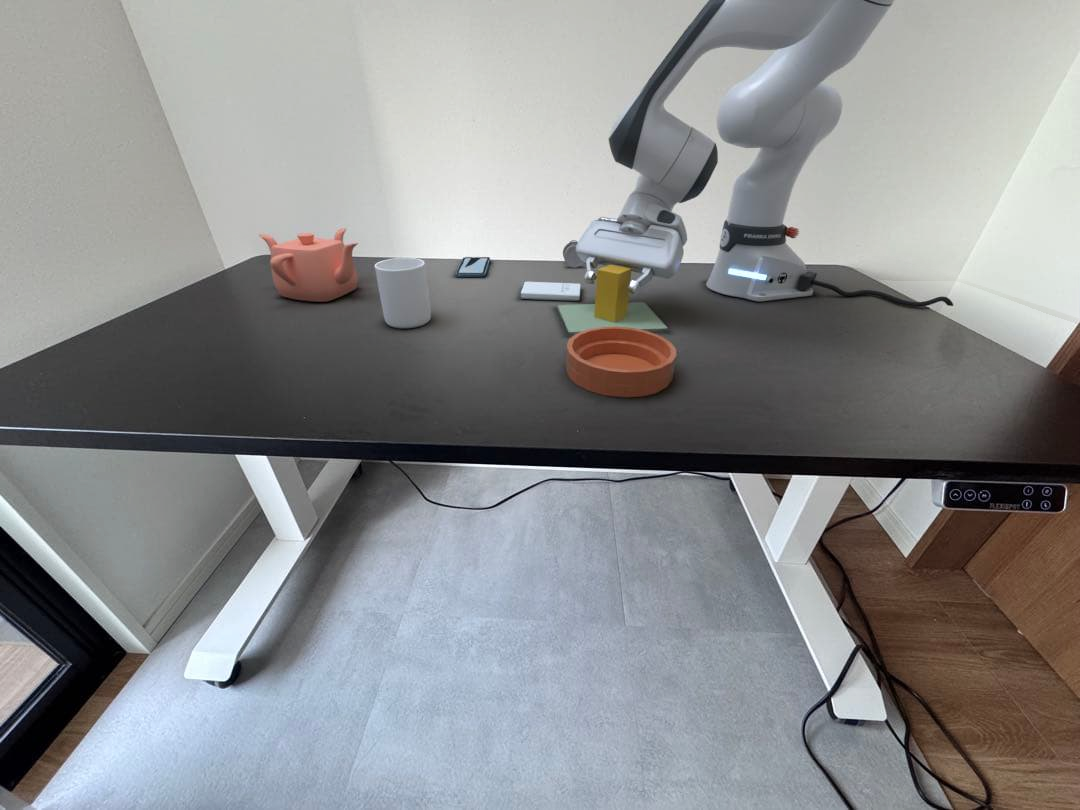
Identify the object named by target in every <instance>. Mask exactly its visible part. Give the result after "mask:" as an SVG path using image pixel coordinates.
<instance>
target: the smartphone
mask: <svg viewBox="0 0 1080 810" xmlns="http://www.w3.org/2000/svg"><path fill="white" fill-rule="evenodd" d="M490 263H491V257H490V256H464V257H462V259H461V260H460V263H459V265H458V266H457V269H456V271H455V277H458V278H483V277H486V276H487V272H488V269H489V266H490Z"/></svg>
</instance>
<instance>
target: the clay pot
mask: <svg viewBox="0 0 1080 810" xmlns="http://www.w3.org/2000/svg"><path fill="white" fill-rule="evenodd" d="M567 341H568V342H567V344H566V350H565V351H566V352H565V353H566V354H565V357H566V358H565V371H566V374H567V377H568V378H569V380H571V381H572V382H573V383H574V384H575V385H576V386H578V387H579V388H582V389H584V390H586V391H587V392H591V393H593V394H597V395H602V396H607V397H615V398H641V397H642V398H643V397H646V396H650V395H654V394H658V393H659V392H661V391H663V390H665V389H666V388H668V387H669V385H670V384H671V382H672V381H673V378H674V373H675V367H676V362H677V356H678V355H677V348H676V347H675V345H674V344H673V343H672V342H671V341H670V340H668V339H666V338H665V337H663V336H661V335H659V334H658V333H654V332H652V331H650V330H640V329H635V328H629V327H617V326H616V327H598V328H593V329H587V330H585V331H582V332H579V333H574V335H572V336H571V337H570V338H569V339H568V340H567Z"/></svg>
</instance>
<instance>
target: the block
mask: <svg viewBox="0 0 1080 810" xmlns="http://www.w3.org/2000/svg"><path fill="white" fill-rule="evenodd" d="M631 270H632V268H627V267H622V266H617V265H612V264H610V265H607V266H602V267H600V268H598V269H597V270H596V271H597V273H596V276H597V278H596V283H595V284H596V286H595V299H594V301H595V302H594V304H595V313H594V317H596V318H600V319H604V320H608V321H611V322H616V321H618V320H620V319H622V318H623V317H625V316H627V307H628V303H629V298H630V297H629V296H630V292H629V291H628V287H629V285H630V282H631V280H632V278H631V277H632V271H631Z"/></svg>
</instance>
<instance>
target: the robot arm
mask: <svg viewBox="0 0 1080 810" xmlns="http://www.w3.org/2000/svg"><path fill="white" fill-rule="evenodd" d="M895 1H896V0H708V1H707V2H706V3H705V4H704V5H703V7H702V8H701V10H700V11H699V12H698V14H697V15H696V16H695V17H694V18H693V20H692V21H691V23H690V24H689V25H688V26H687V27H686V28H685V30H684V31H683V32H682V34H681V35H680V36H679V38H678V39H677V41H676V42H675V43H674V45H673V46H672V47H671V49H670V50H669V51H668V53H667V54H666V56H665V57H664V58H663V60H662V61H661V62H660V64H658V66H657V68H656V69H655V70H654V72H653V73H652V74H651V76H650V77H649V78H648V81H647V82H646V83H645V85H644V86H643V87H642V88H641V90H640V91H639V93H638V94H637V95H636V96H635V97H634V98H633V99H632V100H631V101H630V102H629V103H628V104H627V105H626V106H625V107H624V108H623V109H622V111H620V113H619V114H618V116H617V117H616V119H615V121H614V122H613V125H612V126H611V130H610V134H609V137H608V144H609V148H610V152H611V154H612V157H613V160H614V161H615V163H617V164H619V165H621V166H624V167H626V168H628V169H630V170H633V171H635V172H637V173H639V175H638V177H637V179H636V183H635V188H634V189H633V191H632V192H631V193H630V194H629V195H628V197H627V199H626V201H625V203H624V205H623V207H622V208H621V211H620V212H619V214H618V217H617V218H613V217H606V216H600V217H599V218H596V219H593V220H592V221H591V222H590V224H589V225H588V227H587V228H586V229H585V230H584V232H583V234H582V235H581V237H580V238H579V240H578V241H577V242H578V243H577V245H576V252H577V254H578V256H579V257H580V259H581V260H582V261H584V263H586V273H585V274H584V277H583V280H584V282H585V283H586V284H590V285H594V284H595V281H597V274H596V273H595V269H597V268H598V266H603V267H605V266H607V265H610V264H612V265H617V266H622V267H627V268H632V270H631V272H634V273H637V274H642V275H640V276H639V277H638V278H637V279H636V280H633V279H630V285H629V287H628V291H629V294H634V295H638V294H639V292H640V291H641V289H642V288H643V287H645V286H646V285H647V284H649V283H650V282H651V281H652V280H653V277H658V278H663V279H667V280H669V279H671V278H672V277H675V275H676V274H677V273H678V271H679V268H680V266H681V263H682V260H683V257H684V253H685V252H684V246H685V245H686V244H687V241H688V233H687V229H686V226H685V222H684V220H683V218H682V216H681V215H679V214H677V213H675V212H673V209H674V208H675V206H676V205H677V204H682V203H686V202H688V201H691V200H693V199H695V198H697V197H699V195H701V194H702V193H703V191H704V190H705V188H706V187H707V186H708V184H709V181H710V179H711V177H712V175H713V173H714V171H715V169H716V167H717V165H718V163H719V153H718V145H717V143H716V142H715V141H714V140H712V139H711V138H710V137H709V136H707V135H706V134H704V133H703V132H701V131H700V130H698V129H696V128H694V126H691V125H689V124H687V123H686V122H684V121H683V120H681V119H680V118H678V117H677V116H675V115H673V114H672V113H670V112H669V111H667V109H666V108H665V106H664V104H665V102H666V100H667V99H668V98H669V96H670V95H671V94H672V92H673V91H674V90H675V89H676V88H677V86H678V85H679V84H680V82H681V81H682V80H683V79H684V77H685V76H686V75H687V74H688V72H689V71H690V70H691V68H692V67H693V66H694V65H695V64H696V62H697V61H698V60H699V59H700V58H701V57H702V56H704V55H705V54H706V53H709V52H710V51H712V50H716V49H720V48H737V49H738V48H739V49H747V50H754V51H774V52H773V53H772V54H771V55H770V56H769V57H768V59H766V60H765V61H764V62H763V63H762V64H761V65H760V66H759V67H758V68H757V69H756V70H755V71H754V72H752V73H751V74H750V75H749V76H747V77H746V78H744V79H743V80H741V81H740V82H737V83H736V84H734V85H733V86H732V87H730V88H729V89H728V91H727V92H726V93H725V94H724V96H723V97H722V99H721V101H720V104H719V106H718V109H717V113H716V128H717V133H718V135H719V137H720V139H721V140H722V141H723V142H724V143H727V144H730V145H733V146H736V147H739V148H744V149H759V151H758V153H757V155H756V157H755V159H754V160H753V162H752V163H751V164H750V166H749V167H748V168H747V169H746V170H745V171H744V172H742V173H741V174H740V175H739V176H738V177H737V179H736V180H735V181H734V184H733V187H732V192H731V197H730V201H729V207H728V211H727V216H726V219H725V220H724V222H723V224H722V230H721V235H720V239H719V250H718V253H717V257H716V260H715V263H714V265H713V268H712V270H711V273H710V275H709V276H708V279H707V281H706V282H705V286H706V288H708V289H709V290H711V291H712V292H713V291H714V292H716V293H718V294H722V295H724V296H725V295H726V296H730V297H736V298H741V299H746V300H750V301H754V302H767V301H776V300H777V301H778V300H783V299H784V300H785V299H794V298H803V297H810V296H813V294H814V289H813V287H814V286H816V287H821V288H824V289H828V290H831V291H833V292H835V293H836V294H838V295H839V296H843V297H857V296H863V295H868V296H876V297H880V298H883V299H885V300H889V301H891V302H893V303H896V304H899V305H902V306H907V307H913V308H921V307H927V306H930V305H933V304H936V303H939V302H943V303H944V304H946V306H949V307H953V306H954V303H953V301H952V300H951V299H950V298H949V297H947V296H938V297H935V298H931V299H929V300H928V299H927V300H925V301H913V300H912V301H910V300H907V299H902V298H900V297H896V296H894V295H891V294H888V293H886V292H882V291H878V290H873V289H859V290H855V291H845V290H843V289H841V288H839V287H838V286H836V285H833V284H830V283H827V282H825V281H824V282H823V281H820V280H816V278H817V276H818V272H814V271H809V270H808V271H807V267H806V263H805V262H804V260H802V258H801V257H800V256H799V255H798V254H797V253H796V252H795V251H794V250H793V249H792V248H791V247H790V246H789V244H788V243H786V242H787V238H790V239H796V238H797V237H798V236H799V235H800V230H799V229H798V228H797V227H794V226H789V227H787V225H785V224H784V220H785V216H786V212H787V209H788V206H789V203H790V202H789V201H790V199H791V195H792V192H793V189H794V186H795V184H796V182H797V179H798V177H799V175H800V173H801V171H802V169H803V167H804V165H805V164H806V162H807V160H808V159H809V158H810V156H811V154H812V153H813V151H814V150H815V149H816V148H817V146H818V145H819V144H820V143H821V142H822V141H823V140H825V139H826V138H827V137H828V136H829V135H830V134H831V133H832V132H833V131H834V130H835V128H836V126H837V125H838V124H839V120H840V118H841V116H842V111H843V100H842V96H841V94H840V92H839V91H838V90H837V89H836V88H835V87H833V86H830V85H829V84H826V83H824V81H825V80H826V79H827V78H829V77H830V76H831V75H833V74H834V73H835V72H837V71H839V70H840V69H842V68H845V66H847V65H848V64H850V63H851V62H852V61H853V60H854V59H855V58H856V56H857V55H858V54H859V53H860V51H861V50H862V48H864V45H866V42H867V41H868V39H869V38H870V37H871V35H872V34H873V33H874V31H875V29H876V28H877V27H878V25H879V24H880V22H881V21H882V20H883V18H884V17H885V16H886V14H887V12H888V11H889V10H890V8H891V7H892V6H893V4H894V2H895Z"/></svg>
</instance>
